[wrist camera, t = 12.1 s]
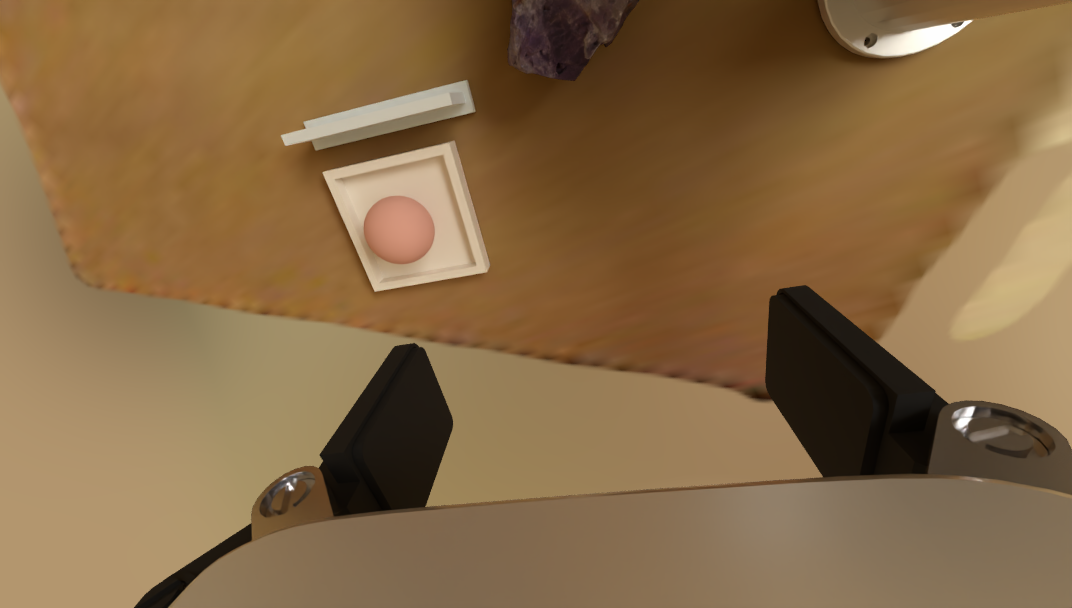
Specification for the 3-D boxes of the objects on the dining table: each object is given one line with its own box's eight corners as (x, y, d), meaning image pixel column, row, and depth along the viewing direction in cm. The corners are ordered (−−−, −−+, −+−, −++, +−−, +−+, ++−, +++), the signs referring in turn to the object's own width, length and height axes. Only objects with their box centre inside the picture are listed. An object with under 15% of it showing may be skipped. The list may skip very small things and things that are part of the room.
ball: (431, 183, 37) (405, 199, 31) (451, 244, 39) (430, 269, 34) (372, 195, 38) (338, 213, 33) (396, 254, 40) (367, 279, 35)
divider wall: (467, 80, 33) (452, 78, 29) (475, 111, 34) (461, 114, 30) (307, 121, 36) (269, 125, 31) (319, 149, 37) (285, 157, 32)
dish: (454, 140, 35) (449, 142, 34) (490, 265, 41) (486, 272, 39) (332, 168, 37) (322, 172, 36) (381, 284, 43) (374, 291, 41)
